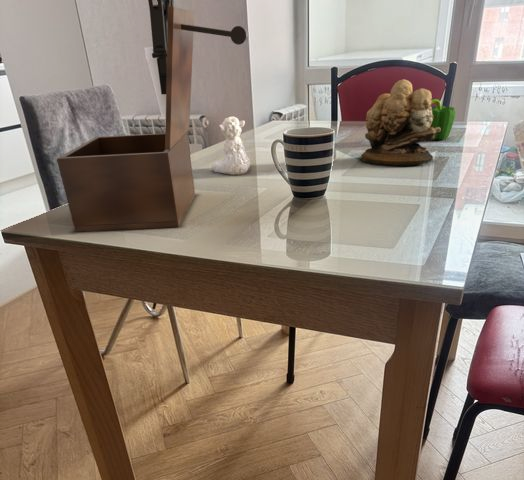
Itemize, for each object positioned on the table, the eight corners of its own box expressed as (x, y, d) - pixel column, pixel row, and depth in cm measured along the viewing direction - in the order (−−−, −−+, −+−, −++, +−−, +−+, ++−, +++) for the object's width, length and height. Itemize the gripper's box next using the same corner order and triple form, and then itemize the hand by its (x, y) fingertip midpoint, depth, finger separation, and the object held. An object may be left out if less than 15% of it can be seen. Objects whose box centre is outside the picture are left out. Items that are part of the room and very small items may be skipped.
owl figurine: (443, 157, 119) (454, 75, 110) (427, 169, 111) (438, 81, 102) (371, 153, 128) (375, 76, 119) (351, 163, 119) (354, 81, 110)
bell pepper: (449, 135, 142) (454, 96, 136) (454, 141, 135) (459, 99, 129) (418, 136, 143) (422, 97, 138) (421, 142, 136) (425, 101, 131)
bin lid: (167, 5, 70) (245, 17, 70) (189, 11, 86) (251, 20, 87) (164, 149, 79) (232, 158, 80) (185, 129, 96) (240, 136, 97)
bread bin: (75, 231, 87) (56, 158, 81) (108, 199, 104) (94, 136, 98) (178, 227, 86) (167, 152, 80) (195, 195, 103) (187, 131, 97)
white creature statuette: (249, 165, 123) (245, 111, 117) (261, 172, 116) (258, 115, 110) (211, 170, 121) (206, 116, 115) (221, 178, 114) (216, 120, 108)
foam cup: (187, 117, 107) (179, 45, 100) (147, 118, 109) (136, 47, 102) (202, 111, 114) (195, 44, 108) (164, 112, 116) (155, 46, 110)
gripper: (149, -31, 107) (165, 88, 119) (122, -46, 88) (143, 97, 100) (184, -33, 107) (196, 86, 118) (164, -48, 88) (181, 96, 100)
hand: (172, 91), depth 109 cm, fingers closed on foam cup, 9 cm apart
